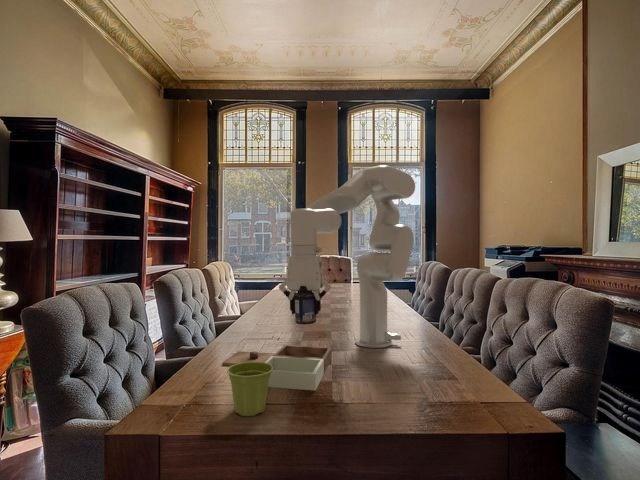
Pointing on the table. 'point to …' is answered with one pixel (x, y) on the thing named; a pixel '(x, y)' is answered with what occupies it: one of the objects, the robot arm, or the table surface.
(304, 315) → the pill bottle
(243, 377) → the plant pot
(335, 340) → the table surface
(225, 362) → the walnut lid
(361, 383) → the table surface
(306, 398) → the table surface
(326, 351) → the walnut box
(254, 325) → the table surface
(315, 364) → the sage box
